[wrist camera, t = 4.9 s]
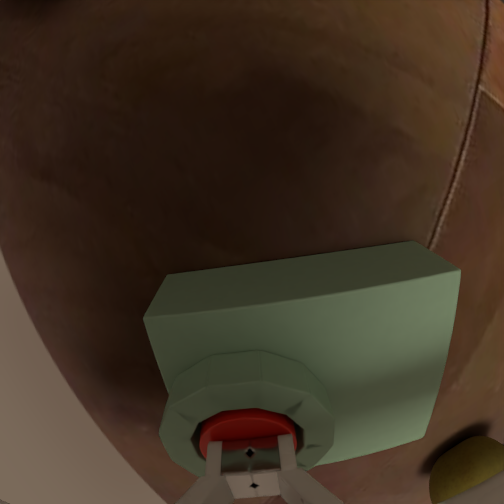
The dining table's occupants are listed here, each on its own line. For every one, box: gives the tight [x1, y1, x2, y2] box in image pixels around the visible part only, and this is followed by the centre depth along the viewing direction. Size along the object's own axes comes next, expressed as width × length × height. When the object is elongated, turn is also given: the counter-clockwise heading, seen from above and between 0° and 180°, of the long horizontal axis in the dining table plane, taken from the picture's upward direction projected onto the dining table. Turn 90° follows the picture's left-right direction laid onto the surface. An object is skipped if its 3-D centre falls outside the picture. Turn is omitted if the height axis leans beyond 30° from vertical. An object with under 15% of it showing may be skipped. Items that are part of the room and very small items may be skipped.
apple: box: [429, 436, 504, 504], centre depth 17 cm, size 8×8×7 cm
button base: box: [143, 241, 461, 477], centre depth 13 cm, size 12×10×6 cm
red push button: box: [199, 408, 297, 458], centre depth 11 cm, size 4×4×2 cm
